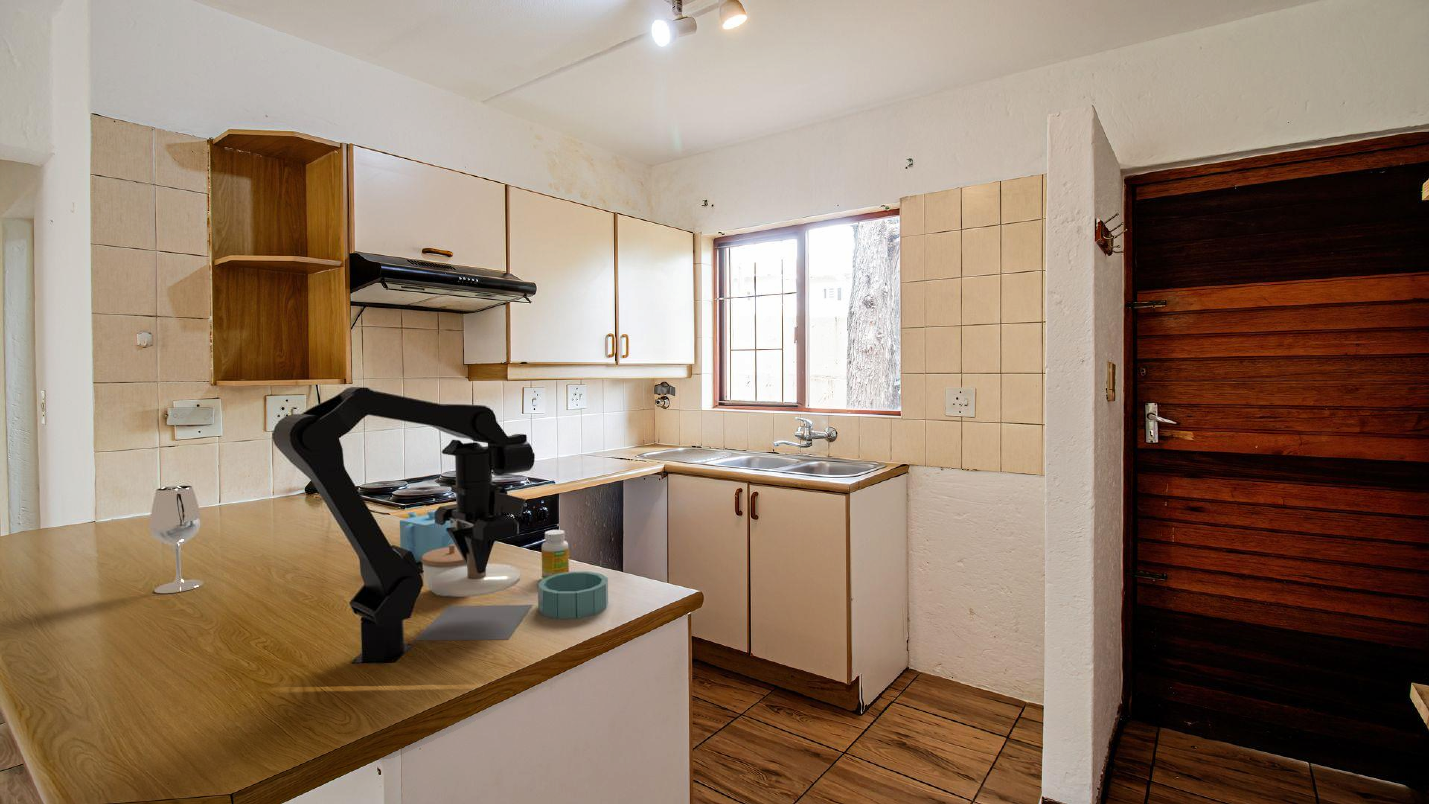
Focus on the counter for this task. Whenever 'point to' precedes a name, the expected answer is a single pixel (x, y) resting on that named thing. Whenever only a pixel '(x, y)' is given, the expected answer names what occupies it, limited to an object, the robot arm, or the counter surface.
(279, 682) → the counter surface
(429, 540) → the teapot
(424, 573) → the lidded jar
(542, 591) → the bowl
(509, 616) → the mat
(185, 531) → the wineglass
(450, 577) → the lid
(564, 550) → the supplement bottle
